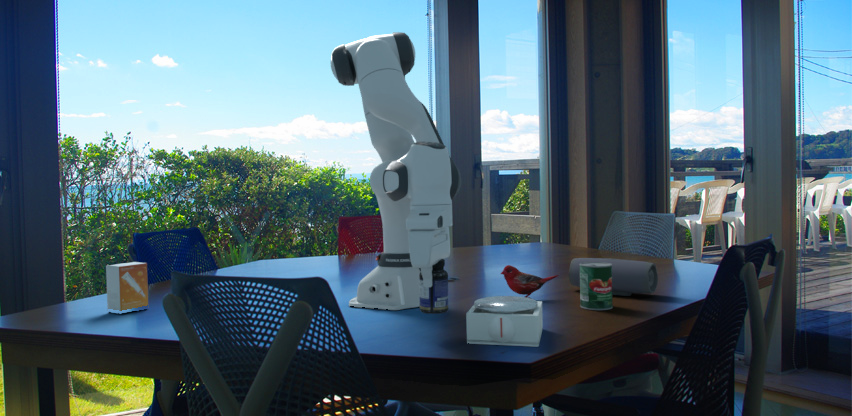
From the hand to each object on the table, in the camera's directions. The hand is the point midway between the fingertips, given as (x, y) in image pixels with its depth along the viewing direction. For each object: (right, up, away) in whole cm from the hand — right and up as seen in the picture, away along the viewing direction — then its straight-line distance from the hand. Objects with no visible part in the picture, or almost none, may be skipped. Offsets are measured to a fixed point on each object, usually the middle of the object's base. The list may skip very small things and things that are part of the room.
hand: (432, 283), depth 117 cm
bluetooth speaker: (+51, -9, +40) cm, 66 cm away
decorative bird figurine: (+27, -9, +34) cm, 45 cm away
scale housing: (+15, -11, -2) cm, 19 cm away
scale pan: (+15, -7, -2) cm, 17 cm away
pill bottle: (0, -6, 0) cm, 6 cm away
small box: (-83, -12, +34) cm, 90 cm away
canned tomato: (+42, -9, +23) cm, 49 cm away
